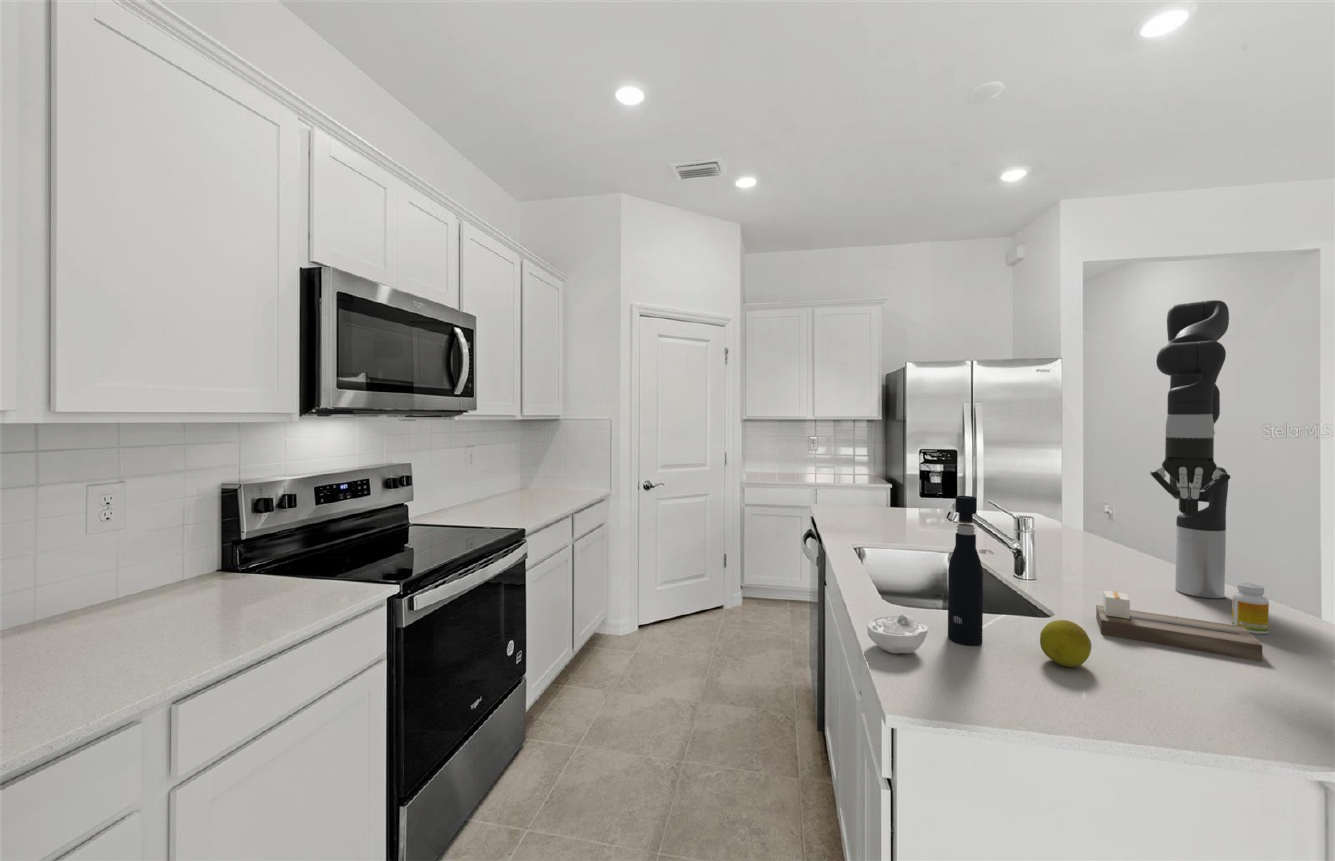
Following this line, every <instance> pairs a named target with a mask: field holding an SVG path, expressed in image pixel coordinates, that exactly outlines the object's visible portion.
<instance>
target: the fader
mask: <svg viewBox="0 0 1335 861" xmlns="http://www.w3.org/2000/svg"><path fill="white" fill-rule="evenodd" d="M1102 591H1103V592H1102V593H1103V596H1102V597H1103V599H1102V601H1103V603H1102V606H1103V609H1104V612H1105V615H1108V616H1114V617H1121V618H1127V619H1130V610H1131V607H1130V606H1131V603H1130V602H1131V600H1130V598H1129V596H1128V594H1127V593H1122V592H1118V591H1114V590H1112V591H1107V590H1102Z"/></svg>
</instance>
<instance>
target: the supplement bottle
mask: <svg viewBox="0 0 1335 861" xmlns="http://www.w3.org/2000/svg"><path fill="white" fill-rule="evenodd" d="M1236 585H1237V586H1236V588H1237V589H1236V590H1237V591H1238V592H1235V593H1233V594H1232V603H1231V604H1232V607H1231V608H1232V609H1231V610H1232V612H1231V625H1236V626H1243V627H1245V628H1246V629H1247V630H1248V631H1249V632H1250V633H1251V634H1255V635H1266V634H1268V633H1269V608H1270V607H1269V605H1270V603H1269V601H1270V600H1269V599H1268V598H1266V597H1265V596H1264V595H1265V587H1264V586H1262V585H1259V584H1254V583H1249V582H1247V583H1246V582H1237V584H1236Z"/></svg>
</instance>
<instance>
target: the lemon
mask: <svg viewBox="0 0 1335 861" xmlns="http://www.w3.org/2000/svg"><path fill="white" fill-rule="evenodd" d="M1039 645H1040V648H1041V650H1042V652H1043V654H1044V655H1045V656H1047V657H1048V659H1050V660H1051V661H1053V662H1054V663H1056V664H1058V665H1059V666H1062V667H1066V668H1073V667H1074V668H1075V667H1079V666H1081V665H1083V664H1084V663H1085V662H1086V661H1088V658H1089V657H1090V655H1091V652H1092V642H1091V639H1090V637H1089V634H1087V632H1086V630H1085V629H1084V628H1082V626H1080V625H1078V624H1077V623H1076V622H1074V621H1071V620H1065V619H1056V620H1052V621H1051V622H1049V623H1047V624H1046V625H1045V626H1044V627H1043V628H1042V630H1041V632H1040V635H1039Z"/></svg>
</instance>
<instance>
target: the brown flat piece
mask: <svg viewBox="0 0 1335 861" xmlns="http://www.w3.org/2000/svg"><path fill="white" fill-rule="evenodd" d="M1095 610H1096V612H1095V614H1096V616H1095V619H1096V622H1097V626H1098V628H1099V632H1100V634H1101V635H1106V636H1113V637H1118V638H1122V639H1130V640H1133V641H1134V640H1135V641H1141V642H1147V643H1153V644H1159V645H1165V646H1172V647H1176V648H1183V649H1187V650H1194V651H1195V650H1196V651H1201V652H1206V653H1211V654H1213V653H1214V654H1218V655H1224V656H1230V657H1236V658H1242V659H1248V660H1253V661H1259V662H1263V645H1262V643H1261V642H1260V641H1258V639H1257V638H1256V637H1255V636H1254V635H1253V633H1250V632H1249V631H1248V630H1247V629H1246V628H1245V627H1243V626H1236V625H1232V624H1228V623H1221V622H1214V621H1208V620H1201V619H1195V618H1188V617H1181V616H1175V615H1174V616H1173V615H1167V614H1159V613H1154V612H1146V611H1141V610H1134V609H1133V610H1132V609H1130V619H1127V618H1121V617H1114V616H1108V615H1105V612H1104V609H1103V605H1100V604H1099V605H1098V604H1096V606H1095Z"/></svg>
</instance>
